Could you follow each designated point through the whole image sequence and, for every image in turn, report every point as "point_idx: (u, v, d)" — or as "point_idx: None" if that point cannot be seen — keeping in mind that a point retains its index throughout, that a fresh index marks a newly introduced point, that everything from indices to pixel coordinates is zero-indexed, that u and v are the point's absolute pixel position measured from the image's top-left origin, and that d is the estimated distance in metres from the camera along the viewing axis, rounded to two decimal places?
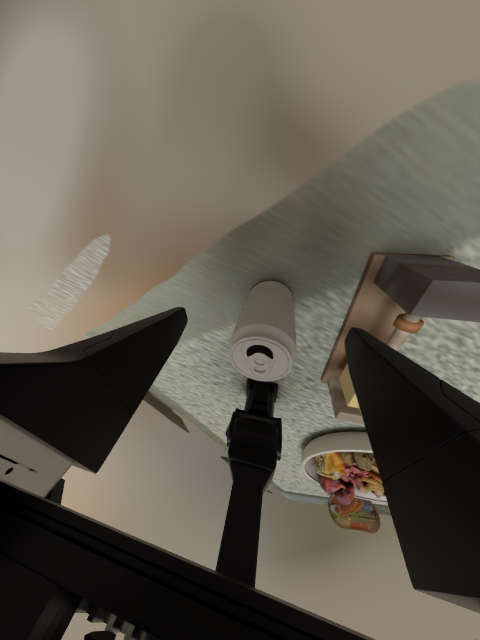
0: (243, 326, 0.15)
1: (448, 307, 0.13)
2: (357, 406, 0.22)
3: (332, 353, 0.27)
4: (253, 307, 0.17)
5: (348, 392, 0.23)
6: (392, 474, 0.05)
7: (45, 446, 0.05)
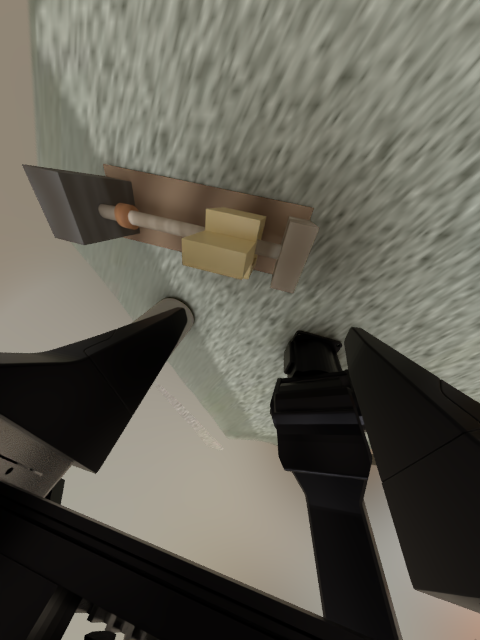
0: None
1: (64, 216, 0.14)
2: None
3: None
4: None
5: None
6: (392, 474, 0.05)
7: (45, 446, 0.05)
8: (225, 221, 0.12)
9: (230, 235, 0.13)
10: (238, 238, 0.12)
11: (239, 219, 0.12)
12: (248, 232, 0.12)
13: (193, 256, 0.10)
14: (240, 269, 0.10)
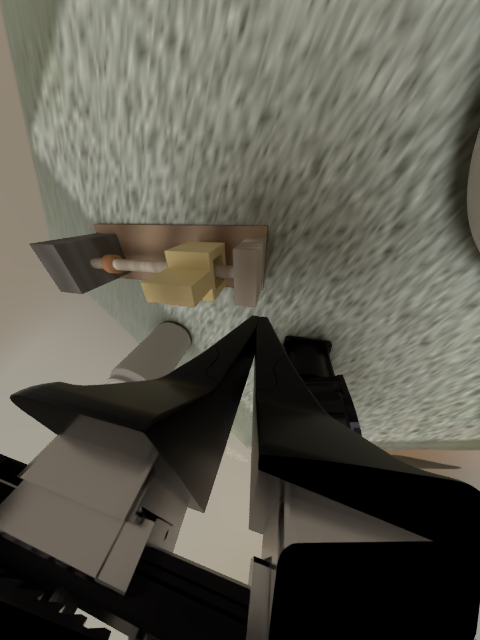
0: None
1: (63, 275, 0.17)
2: None
3: None
4: None
5: None
6: (252, 438, 0.06)
7: None
8: (181, 258, 0.14)
9: (188, 268, 0.15)
10: (194, 270, 0.14)
11: (192, 254, 0.14)
12: (202, 263, 0.14)
13: (153, 294, 0.13)
14: (190, 299, 0.12)
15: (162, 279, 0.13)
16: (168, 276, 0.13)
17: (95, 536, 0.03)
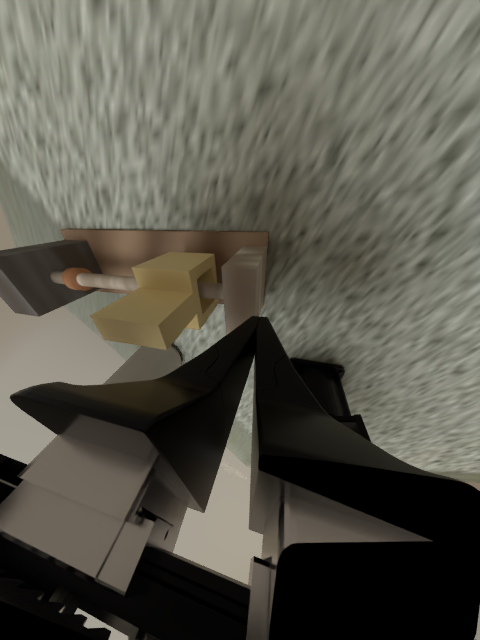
0: None
1: (13, 294, 0.14)
2: None
3: None
4: None
5: None
6: (252, 438, 0.06)
7: None
8: (154, 277, 0.11)
9: (164, 289, 0.11)
10: (171, 293, 0.11)
11: (167, 273, 0.10)
12: (181, 284, 0.11)
13: (109, 331, 0.09)
14: (160, 340, 0.09)
15: (123, 310, 0.09)
16: (133, 304, 0.10)
17: (95, 536, 0.03)
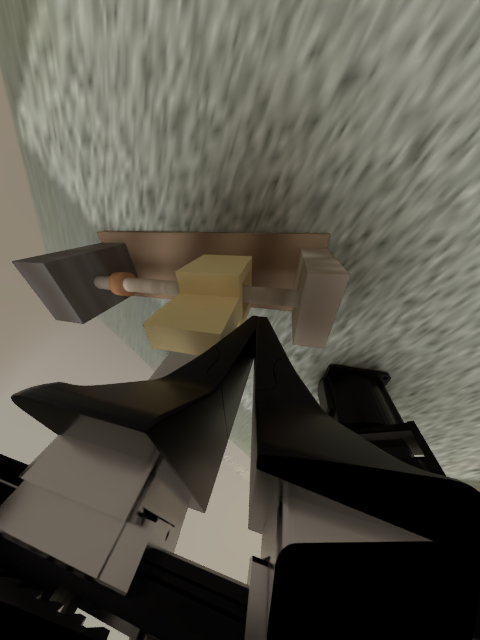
0: None
1: (59, 301, 0.13)
2: None
3: None
4: None
5: None
6: None
7: None
8: (199, 281, 0.10)
9: (208, 294, 0.11)
10: (217, 298, 0.10)
11: (214, 277, 0.10)
12: (228, 289, 0.10)
13: (161, 339, 0.09)
14: None
15: (174, 317, 0.09)
16: (182, 310, 0.09)
17: (96, 537, 0.03)
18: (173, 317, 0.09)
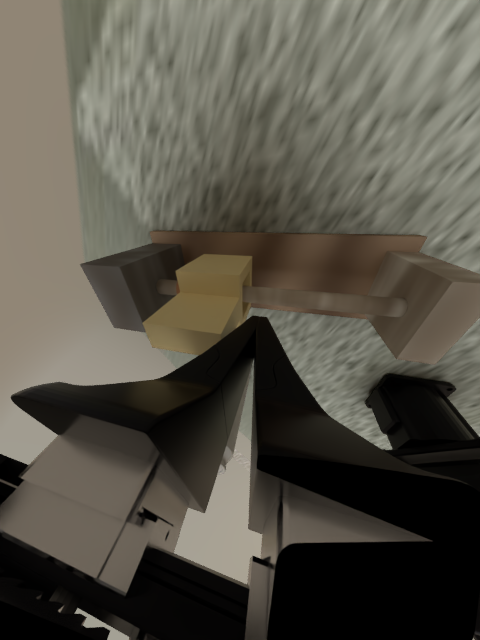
0: None
1: (125, 308, 0.12)
2: None
3: None
4: None
5: None
6: None
7: None
8: (199, 280, 0.10)
9: (208, 294, 0.11)
10: (217, 298, 0.10)
11: (214, 277, 0.10)
12: (228, 288, 0.10)
13: (161, 339, 0.09)
14: None
15: (175, 316, 0.09)
16: (182, 310, 0.09)
17: (96, 537, 0.03)
18: (173, 317, 0.09)
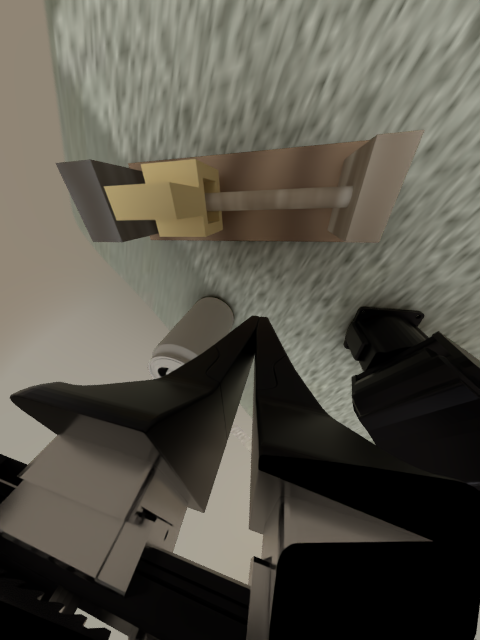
0: (163, 373, 0.19)
1: (100, 213, 0.13)
2: (199, 220, 0.12)
3: None
4: None
5: None
6: (252, 438, 0.06)
7: None
8: (162, 172, 0.11)
9: None
10: None
11: (175, 165, 0.11)
12: (188, 178, 0.11)
13: (122, 205, 0.10)
14: (170, 205, 0.09)
15: None
16: None
17: (95, 536, 0.03)
18: None
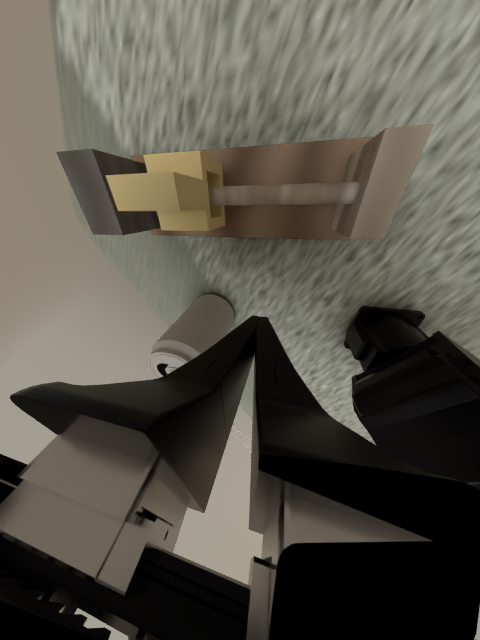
0: (162, 370, 0.19)
1: (101, 204, 0.13)
2: (201, 213, 0.12)
3: (277, 237, 0.18)
4: None
5: None
6: (252, 438, 0.06)
7: None
8: (165, 164, 0.11)
9: None
10: None
11: (178, 156, 0.11)
12: (192, 170, 0.11)
13: (124, 195, 0.09)
14: (174, 196, 0.09)
15: None
16: None
17: (95, 536, 0.03)
18: None
